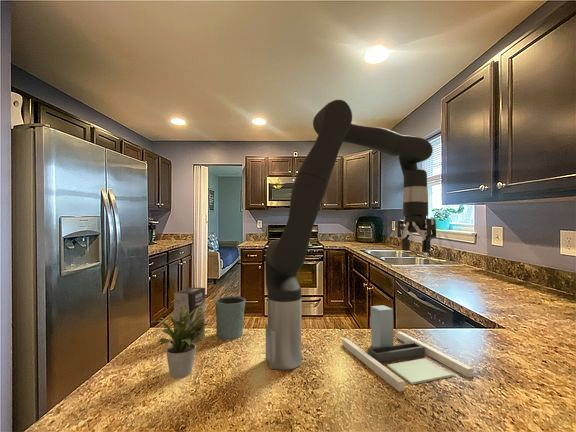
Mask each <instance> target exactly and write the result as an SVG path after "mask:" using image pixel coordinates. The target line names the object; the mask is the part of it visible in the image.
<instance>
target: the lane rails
mask: <svg viewBox="0 0 576 432" xmlns="http://www.w3.org/2000/svg"><path fill="white" fill-rule="evenodd" d="M396 339H398V340H399V341H401V342H404V343H410V342H416V343H418V344H420V345H422V346H424V347H425V355H427V356H429V357H430V358H432V359H434V360H436V361H438V362H439V363H441V364H443V365H444V366H447V367H448V368H450V369H452V370H454V371H456V372H457V373H459V374H461V375H463V376H465V377H467V378H472V377H473V376H474V375H473V372H474V371H473V367H471V366H469V365H467V364H465V363H463V362H461V361H460V360H457V359H455V358H453V357H451V356H449V355H448V354H446V353H443V352H442V351H440V350H439V349H436V348H434V347H432V346H430V345H428V344H427V343H425V342H423V341H420V340H418V339H416V338H415V337H412V336H410V335H409V334H407V333H404V331H397V332H396ZM342 346H343V347H344V348H345V349H346V350H348V351H349V352H350V353H351V354H352V355H354V356H355V357H356V358H357V359H358V360H360V361H361V362H362V363H363V364H365V365H366V366H367V367H369V368H370V369H371V370H372V371H373V372H374V373H376V375H378V376H379V377H380V378H382V380H384V381H385V382H387V383H388V384H389V385H390V386H391V387H393V388H394V389H395V390H397V392H404V391H406V386H405V381H406V380H403V378H402V377H399V375H398V374H396V373H395V372H394V371H392V370H391V369H390V368H389V369H388V367H386V366H384V365H383V363H379V362H378V361H377V360H375V359H374V358H373V357H371V356H370V355H368V352H366V351H364V350H363V349H362V348H360V347H359V346H358V345H356V344H355V343H354V342H353V341H351V340H350V339H348V338H342Z"/></svg>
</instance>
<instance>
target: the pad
mask: <svg viewBox="0 0 576 432" xmlns="http://www.w3.org/2000/svg"><path fill="white" fill-rule="evenodd" d="M386 366H387V367H386V368H389V370H390V371H392V372H393V373H394V374H396V375H397V376H398V377H399V376H400V378H401V379H404V381H406V382H408V383H409V385H410V384H411V385H417V384H422V383H427V382H432V381H437V380H442V379H447V378H452V377H453V374H452V373H451V372H449V371H447V370H445V369H444V368H442V367H440V366H438V365H437V364H435V363H434V362H431V361H430V360H428V359H427V358H419V359H412V360H407V361H401V362H400V361H399V362H395V363H389V364H386Z"/></svg>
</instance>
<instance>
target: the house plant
mask: <svg viewBox="0 0 576 432" xmlns="http://www.w3.org/2000/svg"><path fill="white" fill-rule="evenodd" d="M195 309H196V308H195ZM195 309H194V310H193V311H192V312H191V313H190V315H189V314H188V311H189V308H187V309H186V310H185V312H184V314H183V317H182V306H181V309H180V313H179V329H178V325H177V322H176V320H175V318H174V315H172V314H171V313H168V315H167V314H165V316H166V317H167V316H168V317H170V321H171V323H172V325H173V329H174V330H175V334H176V337H175V334H174V332H173V329H172V327H171V325H170V324H169V322H167V321H166V319H165V318H162V317H161V319H162V320H163V321H162V320H160V319H158V320H157V321H152V323H155V322H158V323H160V324H162V325H163V326H164V327H165V328H163V329H162V330H161V331H162V332H163V333H165V334H167V335H168V336H169V337H170V338H171V339H172V340H171V339H168V338H165V337H161V338H160V339H159V340H158V342H157V344H159V346H161V345H163V344H166V343H171V345H169V346H168V347H167V348H166V351H165V352H166V358H167V359H166V360H167V365H168V372H169V377H170V378H173V379H182V378H186V377H188V376H190V375H191V374H192V371H193V366H194V361H195V357H196V356H195V354H196V350H197V349H196V348H197V344H195V343H191V342H192V341H193V340H194V339H195V338H196V337H201V336H203V337H205V338H207V336H206V335H204V334H201V333H203V332H205V334H207V335H209V332H208V331H206V330H205V331H203V330H201V331H197V332H195V333H194V331H195V330H196V329H198V328H200V327H202V326H205V327H206V326H209V325H212V323H205V324H200V325H197V326H194V327H192V326H193V325H194V323H195V322H196V321H198V319H199V317H200V316H201V315H202V314H203V313H205V314H206V312H207V310H205V312H203V313H201V314H200V315H198V316H197V317H196V318H195V320H194V321H193V322H192V323H191V325H189V326H187V327H189V328H188V329H185V328H187V327H186V324H187V322H188V320H189V319H190V317H191V315H192V313H193V312H194V311H195ZM202 319H205V320H206V319H207V317H205V318H202ZM199 320H201V319H199ZM164 321H165V322H164ZM199 322H202V321H199ZM199 322H197V323H199ZM197 323H196V324H197ZM199 332H201V333H200V334H198V335H195V334H196V333H199ZM193 333H194V334H193ZM192 334H193V335H195V336H193V335H192ZM192 336H193V337H192ZM191 337H192V338H191ZM193 338H194V339H193ZM191 339H193V340H192V341H191ZM173 341H174V342H175V343H174V342H173Z"/></svg>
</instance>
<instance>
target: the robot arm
mask: <svg viewBox="0 0 576 432" xmlns="http://www.w3.org/2000/svg"><path fill="white" fill-rule="evenodd" d="M352 111H353V110H352V108H351V106H350V104H349V103H348V102H347V101H346V100H343V99H334V100H331V101H330V102H327V104H325V105H324V106H323V107H322V108H321V109H320V110H319V111H318V112H317V113H316V114H315V116H314V117H313V119H312V120H313V121H312V126H313V130H314V131H315V133H316V134H317V135H318V136H317V138H316V140H315V141H314V144H313V146H312V147H311V149H310V151H309V152H308V154H307V155H306V157H305V158H304V160H303V162H302V164H301V165H300V167H299V169H298V171H297V174H296V177H295V179H294V183H293V186H292V189H291V193H290V202H289V213H288V219H287V221H286V224H285V226H284V230H283V232H282V234H281V236H280V238H278V239H275V240H272V242H270V243H269V245H268V246H267V247H266V251H265V256H264V257H265V260H264V261H265V262H264V264H265V265H264V267H265V268H264V269H265V272H264V273H265V285H266V286H265V287H266V290H267V291H266V292H267V323H266V324H265V361H266V363H267V365H268V367H269V369H270V370H280V371H281V370H283V371H286V370H293V369H296V368H298V367H299V366H301V364H302V356H303V355H302V354H303V352H302V287H301V286H300V284H299V281H298V280H299V279H298V273H297V272H299V271H300V270H301V268H302V267H303V266H304V264H305V260H306V258H307V254H308V248H309V246H310V241H311V240H310V239H311V236H312V232H313V228H314V226H315V223H316V220H317V217H318V215H319V212H320V208H321V205H322V203H323V200H324V198H325V195H326V192H327V189H328V186H329V184H330V179H331V177H332V173H333V170H334V167H335V164H336V162H337V158H338V155H339V152H340V150H341V147H342V145H343V142H344V143H348V144H352V145H357V146H362V147H365V148H369V149H371V150H375V151H377V152H380V153H382V154H385V155H389V156H393V157H396V156H398V160H399V164H400V168H401V171H402V172H401V173H402V175H403V192H402V215H403V217H404V220H402V219H398V220H397V230H396V231H397V234H396V235H397V236H396V237H397V238H399V239H401V248H402V251H403V252H409V251H410V238H411V236H412V235H414V234H416V233H417V234H418V235H419V236H420V237H421V238H422V244H421V245H422V246H421V249H422V253H425V254H426V253H430V251H431V242H432V241H431V240H432V239H436V238H437V223H436V222H437V221H436V219H435V218H432V217H431V218H427V217H428V216H429V191H428V174H427V171H426V170H425V169H422V168H418V164H419V163H421V162H425V161H427V160H428V159H430V158H431V157H432V154H433V151H434V149H433V146H432V143H431V142H429V141H428V140H427V139H425V138H422V137H419V136H412V135H405V134H404V135H403V134H400V133H397V132H396V131H393V130H390V129H388V128H383V127H380V126H379V127H378V126H369V125H359V124H355V123H352V122H353V112H352Z"/></svg>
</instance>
